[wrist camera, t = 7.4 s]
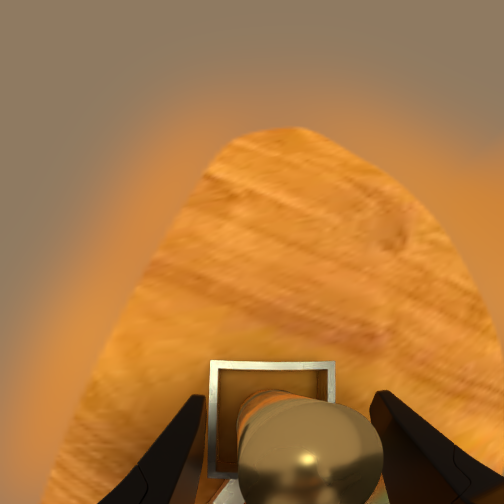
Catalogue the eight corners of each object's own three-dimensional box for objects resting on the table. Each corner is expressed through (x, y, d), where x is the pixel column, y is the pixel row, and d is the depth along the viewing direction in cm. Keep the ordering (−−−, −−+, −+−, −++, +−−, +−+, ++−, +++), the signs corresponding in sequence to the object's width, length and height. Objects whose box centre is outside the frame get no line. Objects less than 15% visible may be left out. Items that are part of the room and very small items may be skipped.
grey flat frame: (329, 521, 13) (339, 534, 11) (198, 523, 13) (194, 538, 11) (335, 363, 18) (347, 360, 16) (201, 361, 17) (196, 359, 15)
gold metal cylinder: (297, 450, 15) (372, 525, 5) (233, 446, 15) (228, 529, 5) (304, 390, 17) (392, 399, 7) (240, 385, 17) (244, 394, 7)
